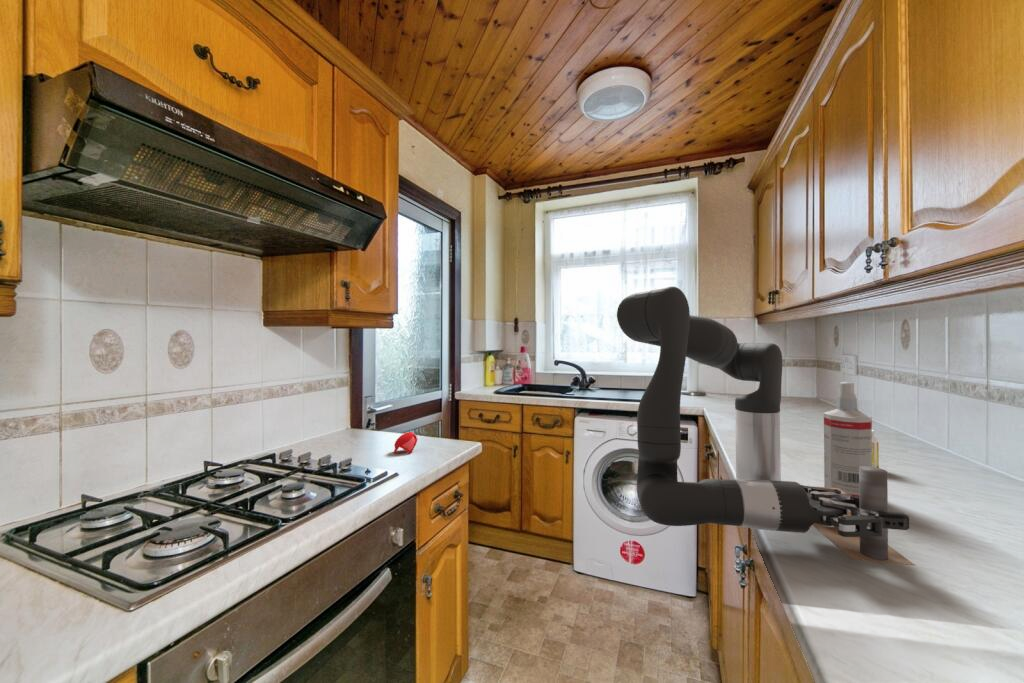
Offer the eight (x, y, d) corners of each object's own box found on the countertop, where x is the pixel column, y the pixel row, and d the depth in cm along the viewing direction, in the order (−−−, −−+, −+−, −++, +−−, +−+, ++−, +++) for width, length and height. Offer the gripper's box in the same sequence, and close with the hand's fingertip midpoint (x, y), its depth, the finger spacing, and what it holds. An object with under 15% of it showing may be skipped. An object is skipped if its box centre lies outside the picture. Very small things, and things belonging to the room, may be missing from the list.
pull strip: (785, 506, 81) (785, 436, 81) (831, 509, 80) (830, 438, 80) (851, 566, 60) (850, 472, 60) (915, 573, 58) (914, 475, 58)
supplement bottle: (863, 464, 107) (863, 426, 107) (884, 471, 102) (884, 431, 102) (844, 465, 107) (844, 427, 107) (865, 472, 101) (864, 432, 101)
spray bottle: (881, 510, 80) (880, 384, 79) (838, 507, 81) (837, 384, 81) (856, 494, 87) (855, 380, 87) (817, 492, 89) (816, 380, 89)
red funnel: (416, 437, 132) (400, 429, 131) (421, 434, 127) (404, 426, 126) (405, 460, 128) (388, 452, 127) (410, 458, 123) (392, 450, 122)
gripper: (788, 499, 57) (931, 508, 53) (751, 467, 71) (863, 472, 67) (788, 551, 57) (932, 564, 54) (752, 509, 71) (864, 517, 67)
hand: (893, 513), depth 60 cm, fingers open, 5 cm apart
